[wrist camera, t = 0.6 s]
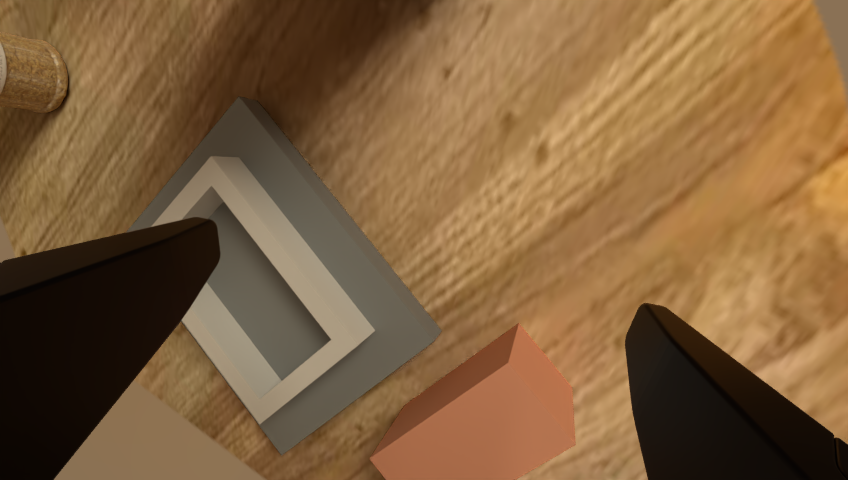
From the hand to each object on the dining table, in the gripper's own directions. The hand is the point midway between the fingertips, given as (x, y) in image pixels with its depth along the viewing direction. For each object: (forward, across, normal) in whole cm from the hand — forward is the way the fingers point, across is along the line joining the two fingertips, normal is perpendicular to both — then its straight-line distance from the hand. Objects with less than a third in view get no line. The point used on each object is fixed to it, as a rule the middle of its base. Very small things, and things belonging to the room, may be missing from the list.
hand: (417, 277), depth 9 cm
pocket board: (+12, +9, +10) cm, 18 cm away
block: (+9, -3, +13) cm, 16 cm away
